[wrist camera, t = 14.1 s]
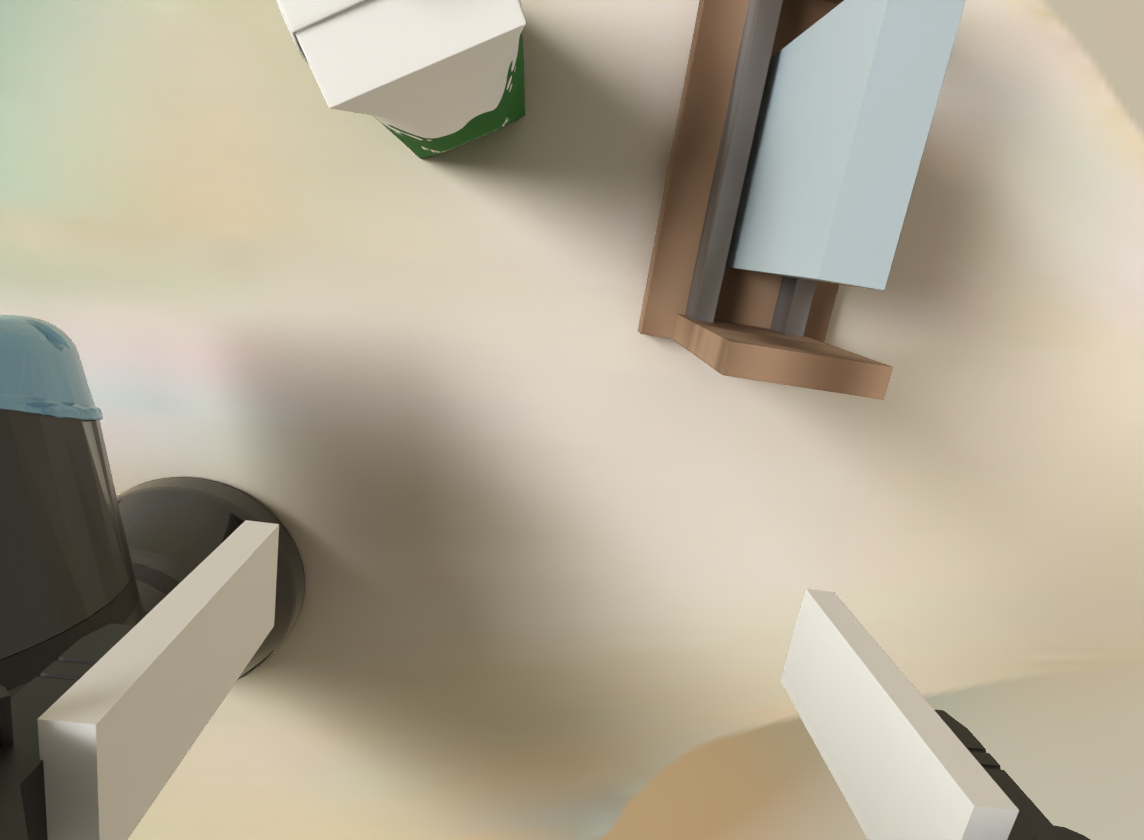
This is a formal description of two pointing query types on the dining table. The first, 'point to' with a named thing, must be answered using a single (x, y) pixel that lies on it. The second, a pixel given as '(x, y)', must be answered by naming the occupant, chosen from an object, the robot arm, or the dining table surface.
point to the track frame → (708, 212)
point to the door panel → (843, 141)
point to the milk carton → (416, 64)
